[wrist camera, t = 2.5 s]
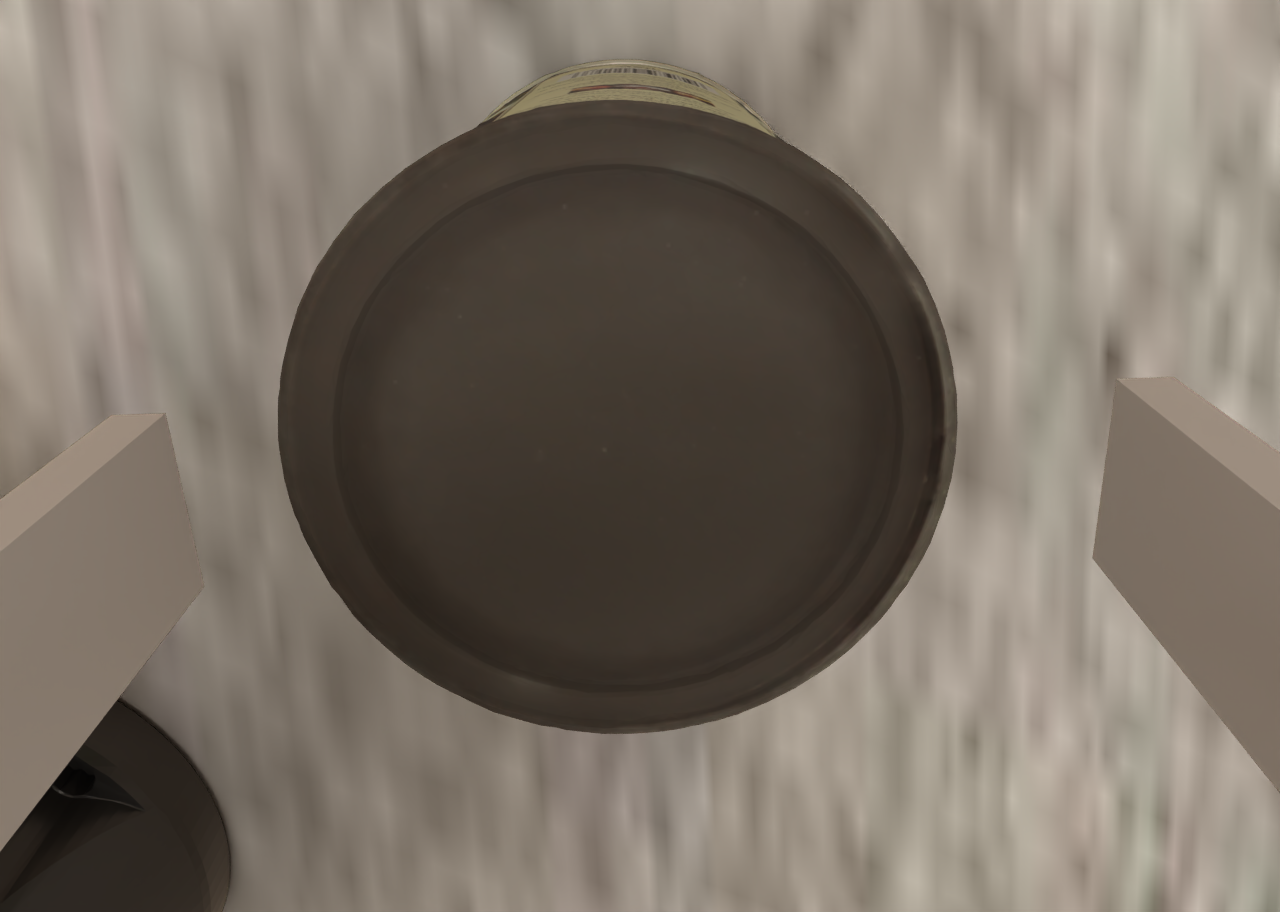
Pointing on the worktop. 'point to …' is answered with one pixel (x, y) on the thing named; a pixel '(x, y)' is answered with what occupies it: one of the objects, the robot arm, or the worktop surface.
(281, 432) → the coffee can
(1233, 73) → the worktop surface
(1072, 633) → the worktop surface
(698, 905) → the worktop surface
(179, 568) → the robot arm
